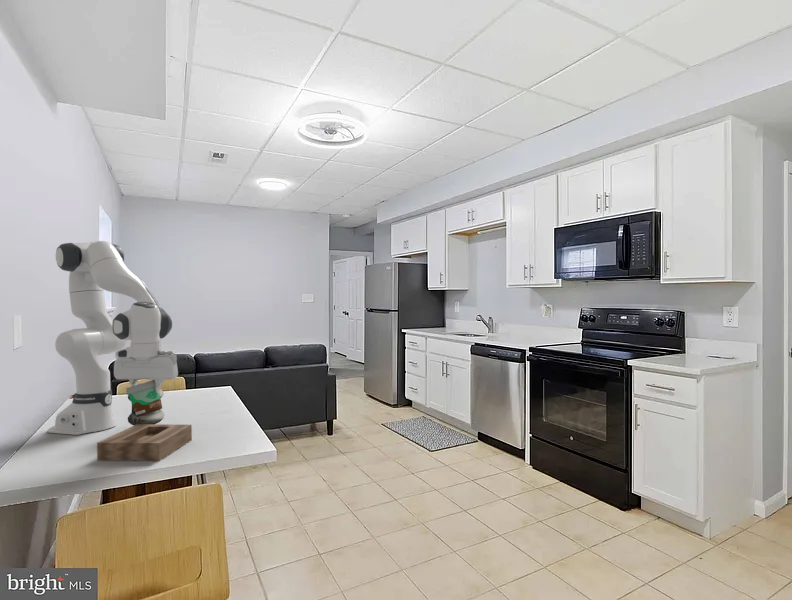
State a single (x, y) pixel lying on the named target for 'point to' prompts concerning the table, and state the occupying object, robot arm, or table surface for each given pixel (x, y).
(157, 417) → the apothecary jar
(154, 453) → the walnut base
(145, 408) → the food container
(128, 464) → the table surface
